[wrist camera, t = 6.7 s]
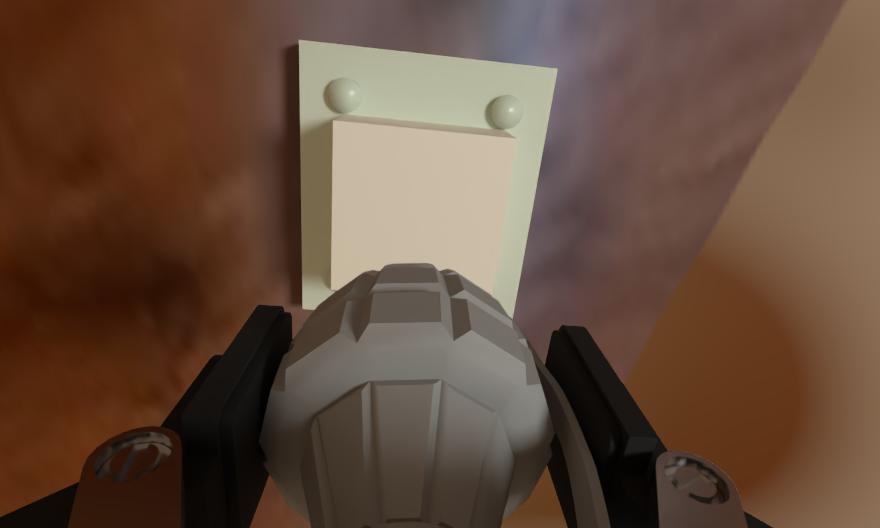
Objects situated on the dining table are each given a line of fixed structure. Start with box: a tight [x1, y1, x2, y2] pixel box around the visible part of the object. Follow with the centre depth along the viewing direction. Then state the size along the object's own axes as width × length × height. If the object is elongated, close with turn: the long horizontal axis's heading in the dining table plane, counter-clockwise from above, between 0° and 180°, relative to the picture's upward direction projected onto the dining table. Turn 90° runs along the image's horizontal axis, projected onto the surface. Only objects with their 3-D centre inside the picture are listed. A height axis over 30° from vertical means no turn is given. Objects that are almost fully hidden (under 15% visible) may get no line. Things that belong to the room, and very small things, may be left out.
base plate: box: [299, 40, 558, 319], centre depth 28 cm, size 16×14×2 cm
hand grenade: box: [259, 263, 611, 528], centre depth 9 cm, size 6×6×11 cm
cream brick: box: [331, 114, 517, 295], centre depth 26 cm, size 9×9×4 cm
